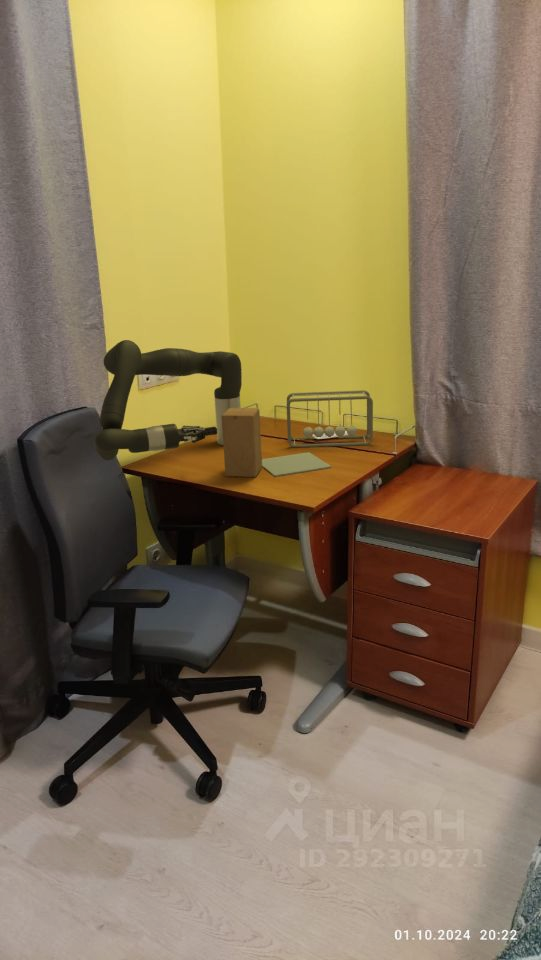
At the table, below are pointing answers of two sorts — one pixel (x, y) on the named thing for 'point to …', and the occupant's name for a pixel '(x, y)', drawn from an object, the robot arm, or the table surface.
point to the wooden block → (242, 442)
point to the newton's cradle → (329, 430)
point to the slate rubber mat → (293, 464)
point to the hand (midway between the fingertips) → (216, 430)
